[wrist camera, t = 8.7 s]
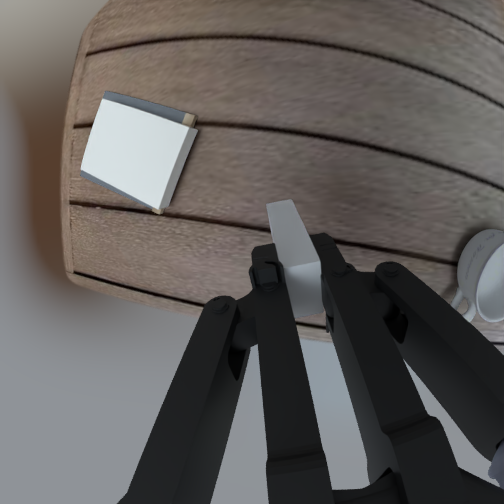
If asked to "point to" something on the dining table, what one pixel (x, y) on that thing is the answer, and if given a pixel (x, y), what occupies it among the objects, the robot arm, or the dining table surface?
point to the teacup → (482, 276)
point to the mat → (145, 106)
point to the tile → (137, 152)
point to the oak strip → (188, 121)
